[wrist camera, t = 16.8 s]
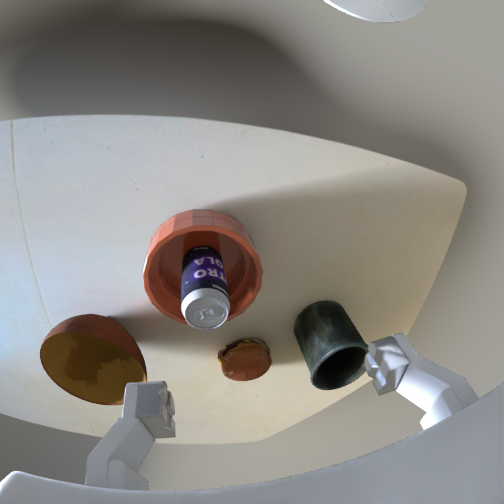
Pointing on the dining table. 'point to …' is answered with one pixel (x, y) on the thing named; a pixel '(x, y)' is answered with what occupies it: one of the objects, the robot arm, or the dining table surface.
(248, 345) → the burger
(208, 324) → the beverage can
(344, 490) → the robot arm
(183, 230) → the terracotta bowl
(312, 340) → the mug
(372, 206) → the dining table surface
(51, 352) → the bowl
